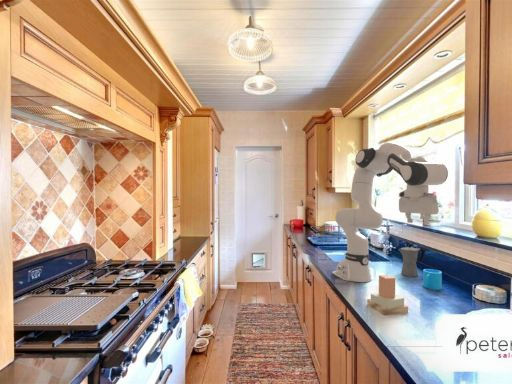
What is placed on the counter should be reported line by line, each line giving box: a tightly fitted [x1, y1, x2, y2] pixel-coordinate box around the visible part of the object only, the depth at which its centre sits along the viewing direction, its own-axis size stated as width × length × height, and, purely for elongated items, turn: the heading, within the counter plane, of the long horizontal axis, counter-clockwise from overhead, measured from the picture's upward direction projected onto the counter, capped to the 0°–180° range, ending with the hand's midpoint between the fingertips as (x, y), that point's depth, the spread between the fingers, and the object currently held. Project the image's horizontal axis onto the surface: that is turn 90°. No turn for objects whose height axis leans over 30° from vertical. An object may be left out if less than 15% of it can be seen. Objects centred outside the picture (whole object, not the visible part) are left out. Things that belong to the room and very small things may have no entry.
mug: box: [422, 268, 443, 291], centre depth 151 cm, size 12×8×8 cm
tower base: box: [366, 298, 409, 316], centre depth 123 cm, size 11×11×3 cm
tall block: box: [378, 274, 396, 298], centre depth 123 cm, size 4×4×8 cm
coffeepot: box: [398, 243, 426, 278], centre depth 175 cm, size 15×9×18 cm, turn 90°
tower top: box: [370, 292, 405, 309], centre depth 123 cm, size 9×9×3 cm
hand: (417, 223), depth 135 cm, fingers open, 8 cm apart
